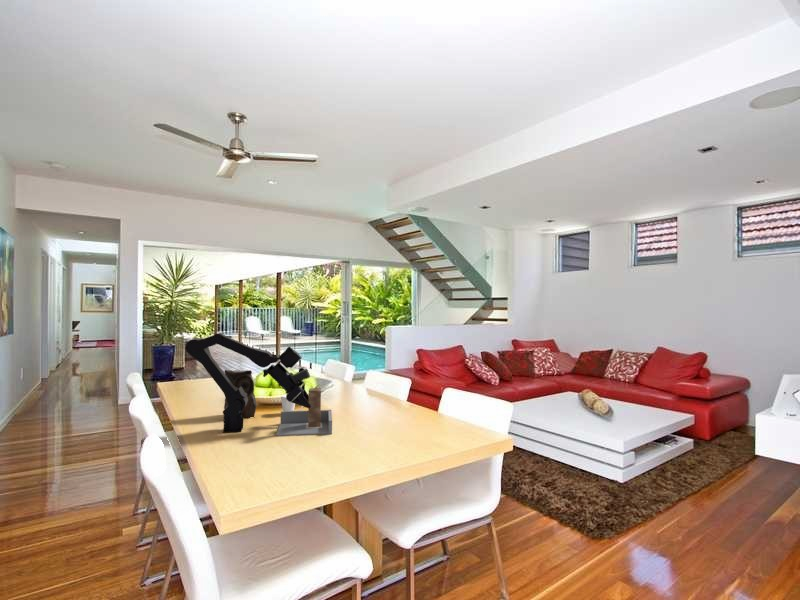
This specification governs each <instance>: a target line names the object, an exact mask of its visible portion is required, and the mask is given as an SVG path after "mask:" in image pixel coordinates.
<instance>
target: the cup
mask: <svg viewBox="0 0 800 600" xmlns="http://www.w3.org/2000/svg"><path fill="white" fill-rule="evenodd" d="M286 395H287V393H285V394H281V396H280V399H281V407H282V411H295V406H296V404H295V403H291V402H289V401H288V400H287V399H286ZM300 406H301V405H300ZM303 407H304V406H301V407H300V409H299V410H298V411H302V409H303Z"/></svg>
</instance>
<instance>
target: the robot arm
mask: <svg viewBox="0 0 800 600" xmlns="http://www.w3.org/2000/svg"><path fill="white" fill-rule="evenodd" d="M215 345H219V346H221V347H224V348H225V349H228V350H230V351H232V352H234V353H236V354H239V355H241V356H244V357H245V358H247V359H249V360H250V361H251V362H252V363H254V364H255V365H257V366H258V367H260V368H264V369H263V370H262V372H263V376H262V377H264V378H265V377H267V375H269V376H270V377H271V378H272V379H273V380H274V381H275V382H276V384H277V385H278V387H282V389H283V390H284V391H285V394H287V395H286V399H287V400H288V401H289V402H291V403H295V405H299V406H303V407H305V408H306V409H308V408H310V407H311V405H310V404H309V393H307V391H306V387H305V386H306V384H305V381H304V380H307V379H309V378H311V374H310V371H309V370H308V368H304V367H300V368H298V371H297V372H295V373H293V372H290V371H288V370H287V369H288V368H289V369H292V368H294V366H295V365H296V364H297V363H299V361H300V360H301V359H302V356H301V355H300V353H299V352H298V351H296V350H295V349H293V347H291V346H290V345H289V346H287V348H285V350H284V351H283V352H282V353H281V354H272V352H270V351H268V350H264V349H261V348H257V347H256V348H255V347H251V346H249V345H248V344H245V343H242V342H241V341H238V340H237V339H234V338H232V337H229V336H227V335H226V334H224V333H222V332H218V333H214V334H213V335H210V336H208V337H205V338H199V337H196V338H193V339H190V340H188V341H187V342H186V344H185V347H184V349H185V351H186V353H187V354H189V355H190V357H191V358H192V359H194V360H195V361H197V362H198V363H200V364H201V366H203V368H204V370H206V372H207V373H208V374H209V376H210V377H211V378H212V380H213V381H214V382H215V383H216V385H217V386H218V387H219V388H220V390H221V391H222V393H223V392H224V393H223V395H224V397H225V398H226V401H227V403H228V406H227V407H226V408H225V409H224V408H223V411H222V414H223V429H222V433H223V434H224V433H225V434H226V433H227V434H229V433H237V432H239V433H240V432H242V430H243V429H244V419H243V418H244V417H243V416H242V412H240V411H241V410H242V409H244V407H245V406H246V404H247V403H248V397H247V393H245V392H244V390H243V388H242V387H240V388H239V389H238V388H237V387H235V386H234V385H233V384H232V383H231V381H230V380H229V379H228V377H227V376H226V375H225V371H223V369H222V368H221V367H220V365H219V364H218V363H217V362H216V360H215V359H214V358H213V356H212V354H211V351H210V348H209V347H213V346H215ZM267 367H268V368H267ZM225 398H224V399H225Z"/></svg>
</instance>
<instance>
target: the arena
mask: <svg viewBox="0 0 800 600" xmlns="http://www.w3.org/2000/svg"><path fill="white" fill-rule="evenodd" d="M312 434H321V435H332V434H333V414H332V409H321V418H320V427H308V410H306V409H305V410H300V411H299V410H294V411H283V410H281V411H280V423H279V426H278V429H277V431H276V434H275V436H276V437H289V436H290V435H296V436H313V435H312ZM290 437H291V436H290Z"/></svg>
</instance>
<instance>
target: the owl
mask: <svg viewBox="0 0 800 600" xmlns="http://www.w3.org/2000/svg"><path fill="white" fill-rule="evenodd" d="M224 373H225V375H226V376H227V377H228V379H229V380H230V381H231V383H232V384H233V385H234V386H235V387H237V388H238V389H239V388H240V387H242V388H243V390H244V392H245V393H247V397H248V403H247V404H246V406H245V407H244V409H242V410H241V411H240V412H242V416H243V417H244V418H247V419H251V418H250V417H254V416H255V415H256V410H257V401H256V395H255V393H254V392H255V381H254V379H253V378H254V376H253V375H252V373H253V372H252V370H249V369H248V370H243V369H242V370H240V369H239V370H238V369H237V370H236V369H234V370H230V369H229V370H227V369H225V370H224ZM222 393H223V394H224V392H223V391H222ZM227 406H228V403H227V401H226V398H224V406H223V410H224V409H225V408H226V407H227ZM254 418H255V417H254Z"/></svg>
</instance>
